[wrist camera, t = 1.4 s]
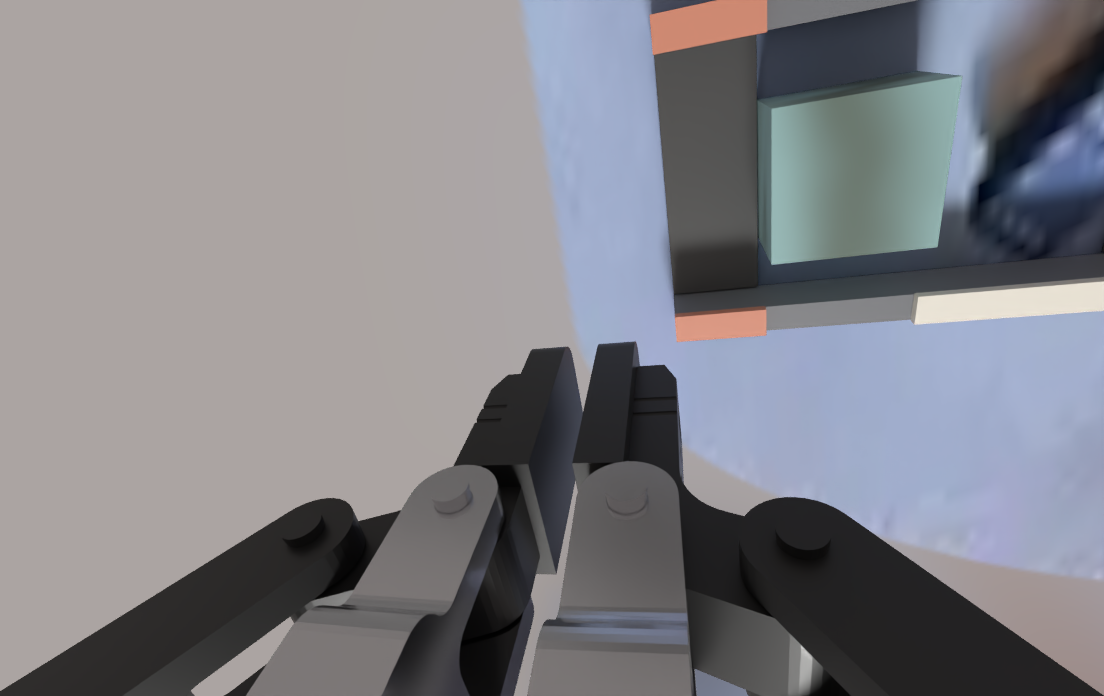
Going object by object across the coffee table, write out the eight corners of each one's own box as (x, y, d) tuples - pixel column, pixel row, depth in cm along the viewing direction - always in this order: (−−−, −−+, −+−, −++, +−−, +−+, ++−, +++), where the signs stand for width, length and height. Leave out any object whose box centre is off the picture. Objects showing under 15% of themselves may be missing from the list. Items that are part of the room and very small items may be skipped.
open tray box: (1513, -170, 16) (1670, -209, 14) (1305, 262, 22) (1386, 290, 20) (651, 18, 22) (649, 14, 20) (675, 315, 28) (677, 341, 26)
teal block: (914, 70, 22) (962, 75, 18) (899, 218, 24) (937, 247, 21) (755, 98, 23) (771, 108, 20) (757, 235, 26) (771, 264, 22)
